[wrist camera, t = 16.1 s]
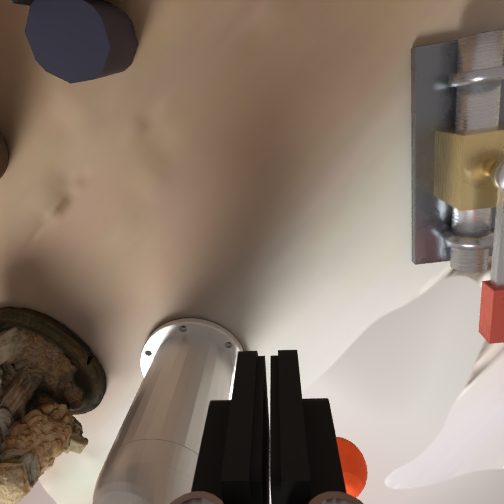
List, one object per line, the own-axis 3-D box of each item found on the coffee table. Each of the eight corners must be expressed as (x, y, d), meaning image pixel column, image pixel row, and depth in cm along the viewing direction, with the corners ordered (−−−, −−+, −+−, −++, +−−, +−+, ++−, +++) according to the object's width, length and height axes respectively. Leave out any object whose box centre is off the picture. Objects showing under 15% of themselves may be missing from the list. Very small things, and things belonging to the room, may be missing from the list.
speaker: (57, -17, 32) (-18, -47, 23) (124, -27, 32) (75, -61, 23) (85, 80, 36) (30, 89, 26) (146, 72, 36) (111, 78, 26)
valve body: (502, 250, 39) (556, 284, 32) (411, 260, 40) (443, 297, 33) (521, 29, 32) (596, 8, 25) (411, 48, 33) (451, 33, 26)
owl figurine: (135, 380, 48) (68, 519, 32) (79, 426, 51) (-6, 573, 36) (15, 284, 44) (-131, 391, 28) (-37, 341, 47) (-194, 466, 31)
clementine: (302, 467, 52) (307, 520, 45) (295, 428, 49) (298, 478, 43) (362, 461, 51) (376, 515, 44) (358, 421, 48) (371, 472, 42)
